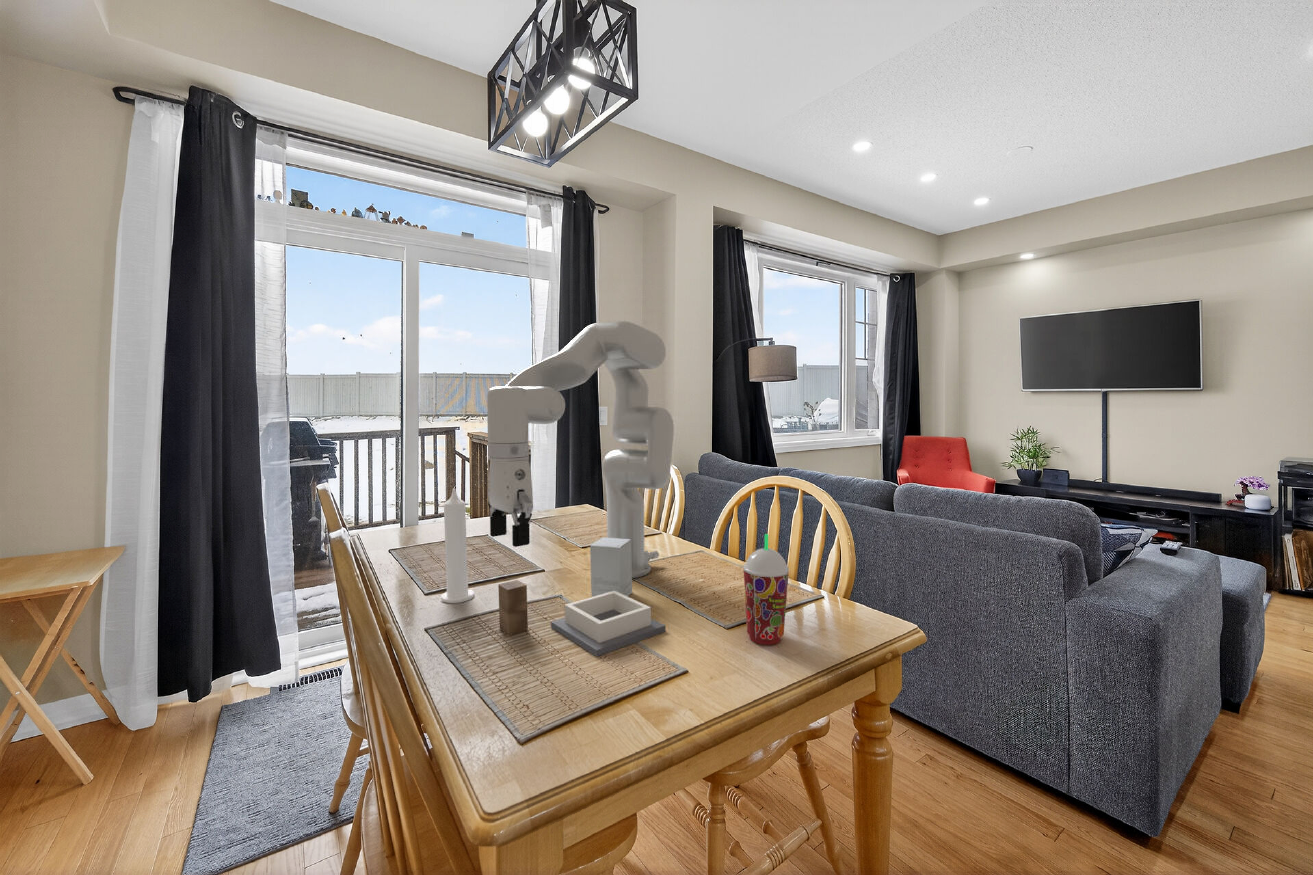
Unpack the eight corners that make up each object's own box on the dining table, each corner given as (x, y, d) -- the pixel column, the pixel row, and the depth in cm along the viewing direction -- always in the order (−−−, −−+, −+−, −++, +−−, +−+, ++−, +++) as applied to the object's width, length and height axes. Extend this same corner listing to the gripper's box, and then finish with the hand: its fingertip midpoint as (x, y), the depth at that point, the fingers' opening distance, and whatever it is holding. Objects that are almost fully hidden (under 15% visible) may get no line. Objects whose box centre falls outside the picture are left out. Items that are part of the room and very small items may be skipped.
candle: (463, 604, 123) (459, 491, 121) (434, 602, 125) (430, 490, 123) (480, 593, 130) (476, 486, 128) (452, 590, 132) (448, 485, 130)
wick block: (518, 623, 113) (517, 579, 112) (527, 629, 110) (526, 585, 109) (499, 629, 111) (498, 584, 110) (508, 635, 108) (507, 589, 107)
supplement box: (633, 592, 130) (632, 538, 129) (620, 604, 123) (620, 547, 122) (603, 588, 133) (603, 536, 132) (590, 600, 126) (589, 544, 125)
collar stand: (616, 607, 121) (616, 585, 121) (665, 631, 109) (665, 607, 109) (551, 627, 111) (550, 604, 111) (596, 656, 99) (596, 630, 99)
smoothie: (778, 653, 100) (780, 542, 98) (735, 642, 104) (736, 536, 103) (794, 635, 107) (795, 532, 105) (752, 626, 111) (753, 526, 110)
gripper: (548, 454, 103) (549, 546, 104) (506, 447, 116) (507, 529, 117) (510, 456, 98) (511, 553, 99) (471, 449, 112) (472, 534, 113)
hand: (509, 540), depth 108 cm, fingers open, 9 cm apart
